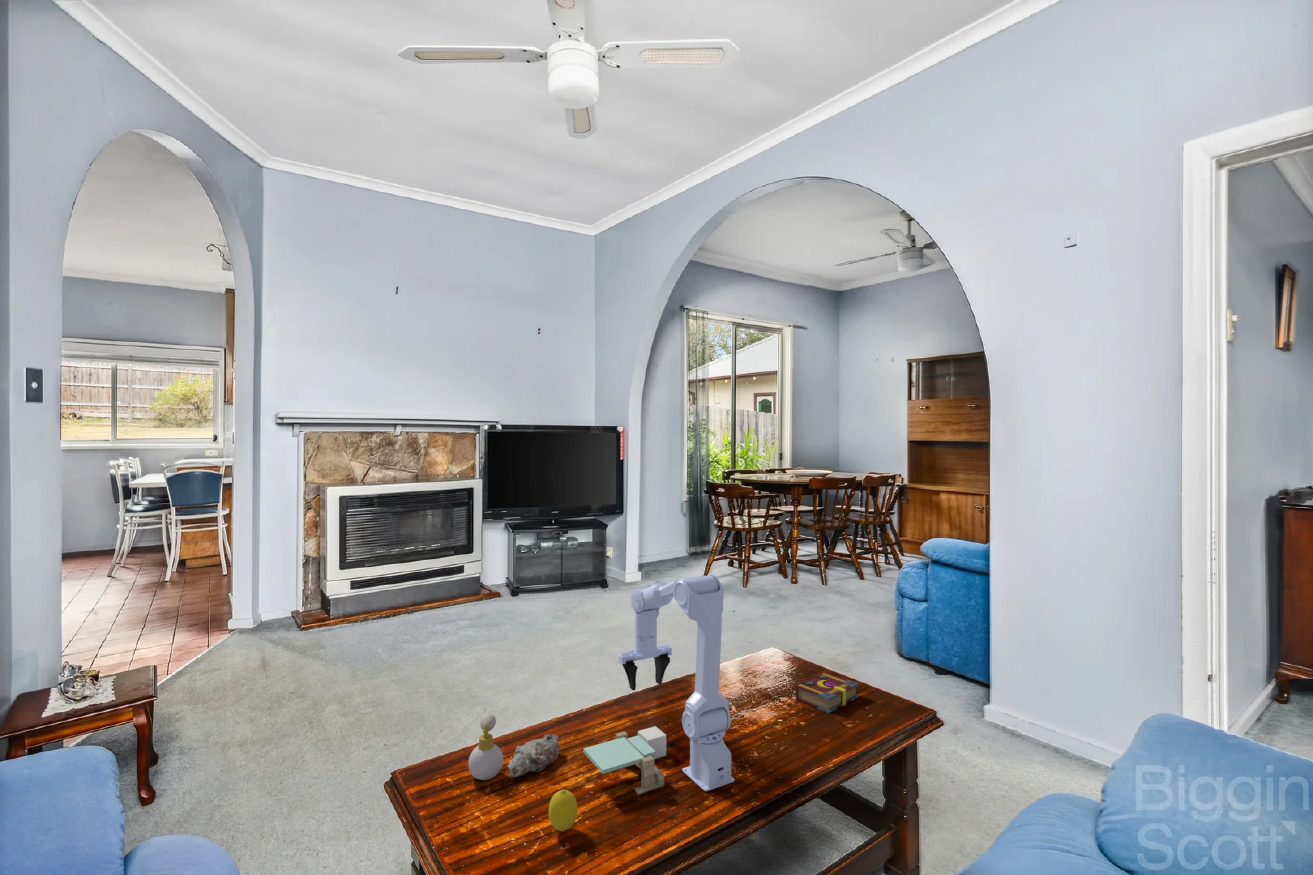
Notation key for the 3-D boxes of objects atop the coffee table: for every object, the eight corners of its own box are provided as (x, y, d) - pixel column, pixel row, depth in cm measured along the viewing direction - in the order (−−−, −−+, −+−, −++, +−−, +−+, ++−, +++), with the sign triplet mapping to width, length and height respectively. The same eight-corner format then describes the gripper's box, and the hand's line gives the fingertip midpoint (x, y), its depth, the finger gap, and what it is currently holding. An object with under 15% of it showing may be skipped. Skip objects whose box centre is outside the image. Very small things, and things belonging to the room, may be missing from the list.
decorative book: (794, 700, 178) (794, 683, 178) (826, 684, 189) (826, 668, 189) (829, 714, 170) (829, 696, 170) (860, 697, 181) (860, 680, 180)
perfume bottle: (473, 789, 134) (473, 734, 133) (461, 768, 142) (461, 716, 142) (507, 779, 138) (507, 725, 137) (494, 759, 146) (494, 708, 146)
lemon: (578, 821, 123) (578, 781, 123) (575, 840, 118) (575, 798, 118) (550, 821, 123) (550, 782, 123) (546, 840, 118) (546, 798, 118)
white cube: (666, 755, 148) (666, 734, 148) (647, 761, 146) (647, 740, 145) (655, 746, 152) (655, 726, 152) (637, 751, 150) (637, 731, 150)
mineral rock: (515, 785, 136) (515, 765, 136) (497, 770, 142) (497, 751, 142) (571, 761, 146) (571, 742, 146) (553, 747, 152) (553, 730, 152)
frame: (664, 785, 136) (664, 755, 136) (638, 794, 132) (638, 763, 132) (634, 756, 148) (634, 728, 147) (609, 763, 144) (609, 735, 144)
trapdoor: (659, 763, 137) (659, 753, 137) (603, 781, 130) (603, 770, 130) (636, 742, 146) (636, 732, 146) (582, 757, 139) (582, 747, 139)
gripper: (663, 625, 170) (662, 675, 170) (614, 634, 163) (614, 685, 163) (675, 633, 164) (675, 684, 164) (625, 642, 157) (625, 695, 157)
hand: (645, 685), depth 163 cm, fingers open, 7 cm apart
